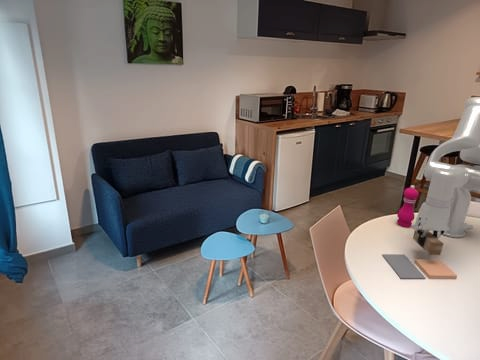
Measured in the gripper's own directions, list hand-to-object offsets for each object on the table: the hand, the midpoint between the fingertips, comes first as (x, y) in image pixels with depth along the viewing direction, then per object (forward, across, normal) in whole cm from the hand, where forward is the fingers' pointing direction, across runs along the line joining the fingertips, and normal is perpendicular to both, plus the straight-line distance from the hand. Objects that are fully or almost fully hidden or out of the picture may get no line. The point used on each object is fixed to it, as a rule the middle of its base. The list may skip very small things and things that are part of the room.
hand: (426, 244), depth 128 cm
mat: (+6, +11, +6) cm, 14 cm away
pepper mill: (+6, -7, -28) cm, 30 cm away
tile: (+6, 0, +3) cm, 6 cm away
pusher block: (+1, 0, 0) cm, 1 cm away
